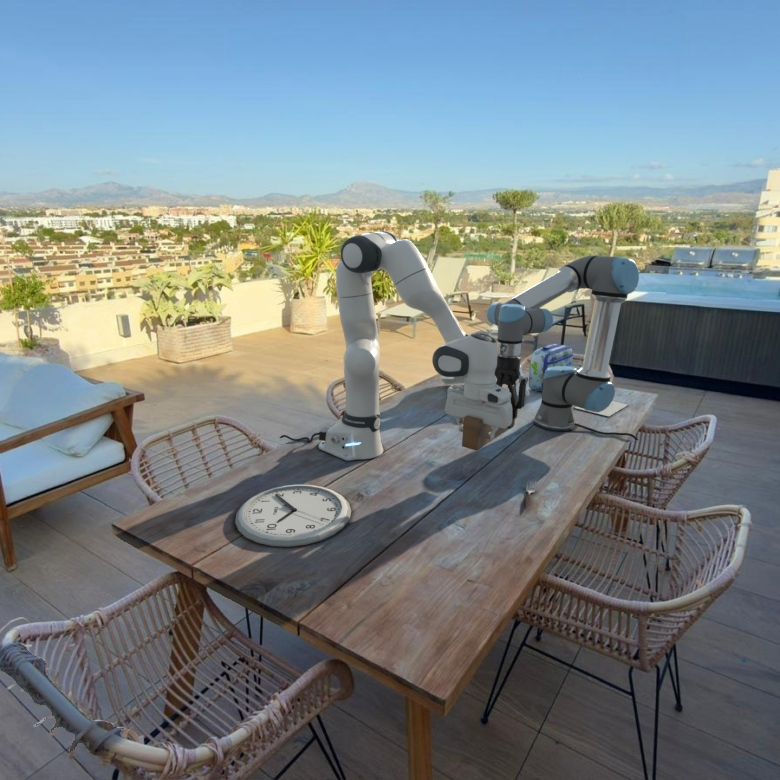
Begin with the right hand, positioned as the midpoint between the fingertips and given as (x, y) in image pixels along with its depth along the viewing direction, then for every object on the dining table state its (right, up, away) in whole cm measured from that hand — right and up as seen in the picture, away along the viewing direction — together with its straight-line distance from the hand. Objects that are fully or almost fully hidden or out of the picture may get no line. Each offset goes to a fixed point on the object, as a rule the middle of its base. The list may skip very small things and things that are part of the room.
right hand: (502, 425), depth 168 cm
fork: (+3, -19, -20) cm, 28 cm away
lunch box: (+40, +12, +83) cm, 93 cm away
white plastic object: (+5, +10, +75) cm, 76 cm away
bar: (-5, -3, -7) cm, 9 cm away
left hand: (-11, -2, -15) cm, 18 cm away
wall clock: (-62, -21, -30) cm, 72 cm away
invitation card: (+55, +4, +58) cm, 80 cm away
